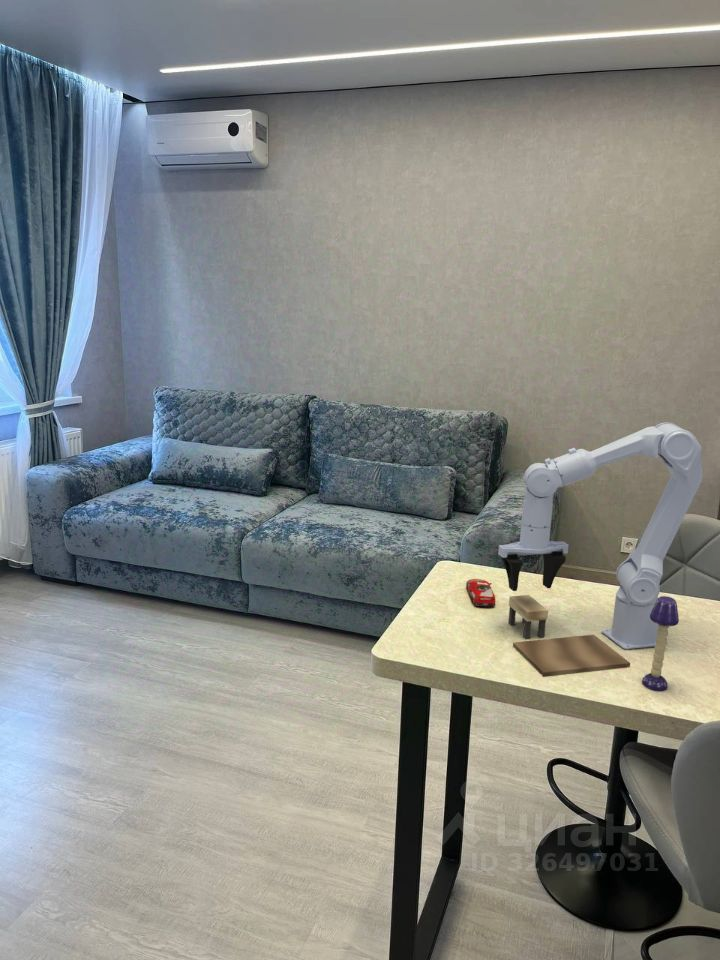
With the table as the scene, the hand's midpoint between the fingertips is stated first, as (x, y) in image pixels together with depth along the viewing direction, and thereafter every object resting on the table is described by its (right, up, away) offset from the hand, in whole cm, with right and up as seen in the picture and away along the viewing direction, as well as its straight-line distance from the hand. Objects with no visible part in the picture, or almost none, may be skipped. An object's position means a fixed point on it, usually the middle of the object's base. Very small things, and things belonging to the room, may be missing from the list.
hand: (529, 587), depth 144 cm
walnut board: (+6, -12, -8) cm, 15 cm away
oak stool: (0, -9, +2) cm, 9 cm away
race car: (-7, -5, +19) cm, 21 cm away
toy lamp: (+18, -15, -18) cm, 29 cm away
